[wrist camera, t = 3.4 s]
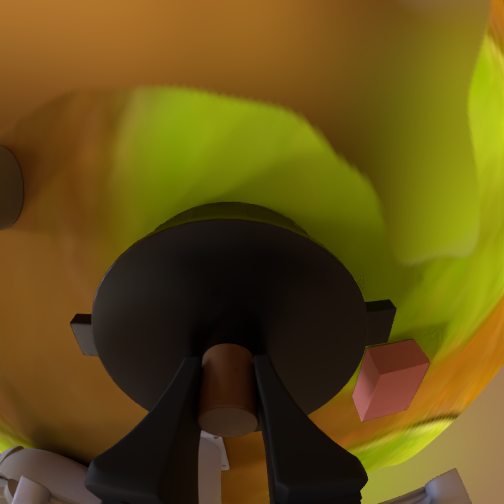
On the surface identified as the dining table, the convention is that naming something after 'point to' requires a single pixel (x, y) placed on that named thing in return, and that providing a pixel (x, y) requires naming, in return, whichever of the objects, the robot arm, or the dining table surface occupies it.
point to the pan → (377, 311)
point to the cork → (9, 189)
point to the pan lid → (229, 317)
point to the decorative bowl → (43, 474)
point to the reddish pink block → (389, 379)
